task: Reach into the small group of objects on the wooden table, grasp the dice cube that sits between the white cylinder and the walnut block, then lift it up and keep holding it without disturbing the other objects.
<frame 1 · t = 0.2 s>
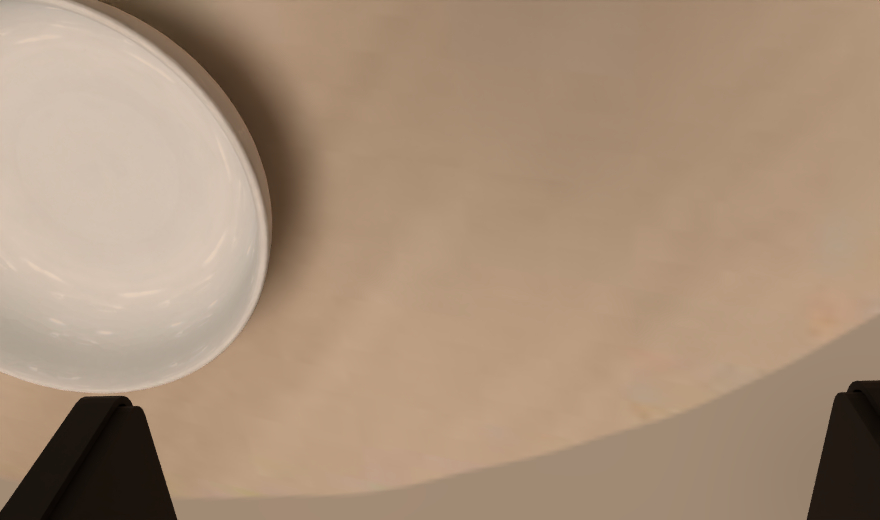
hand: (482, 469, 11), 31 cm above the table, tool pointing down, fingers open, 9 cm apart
serving bowl: (107, 161, 43), on the table
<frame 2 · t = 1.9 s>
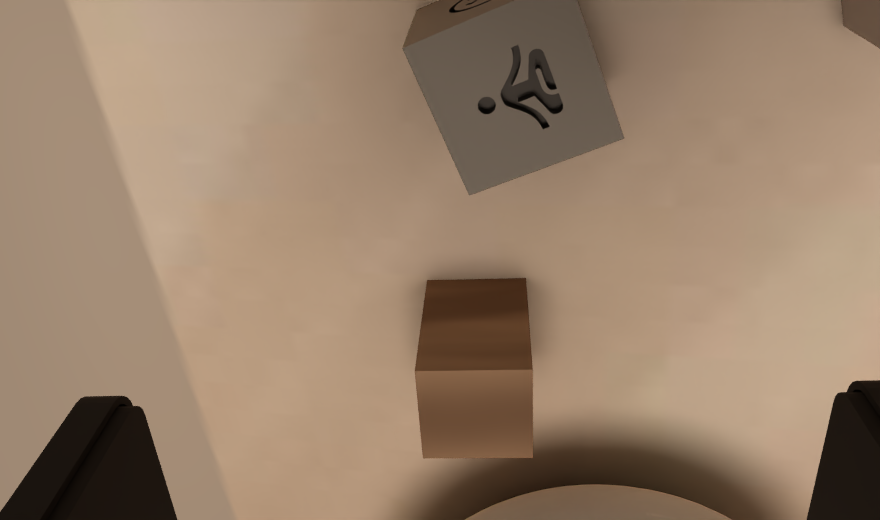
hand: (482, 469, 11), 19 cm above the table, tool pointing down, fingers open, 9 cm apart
dice cube: (511, 47, 28), on the table
walnut block: (478, 319, 33), on the table
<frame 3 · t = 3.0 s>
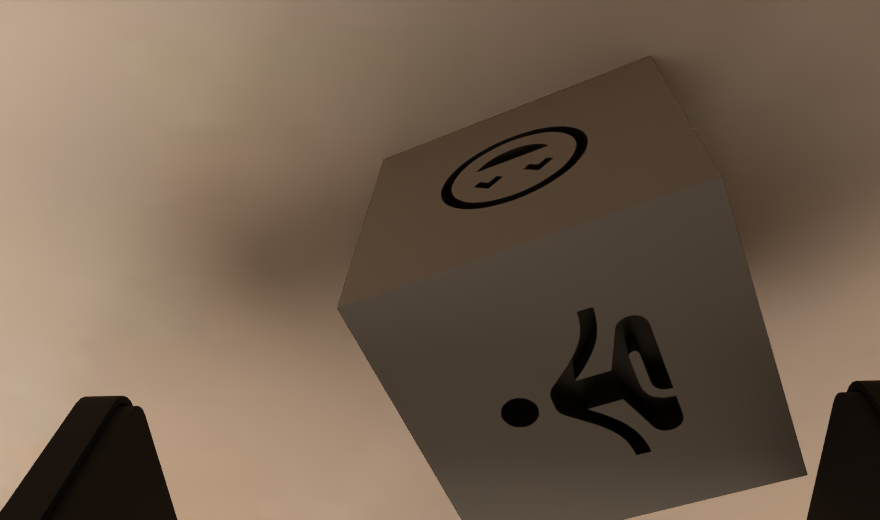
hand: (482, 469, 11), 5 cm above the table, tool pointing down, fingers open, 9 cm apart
dice cube: (557, 220, 15), on the table
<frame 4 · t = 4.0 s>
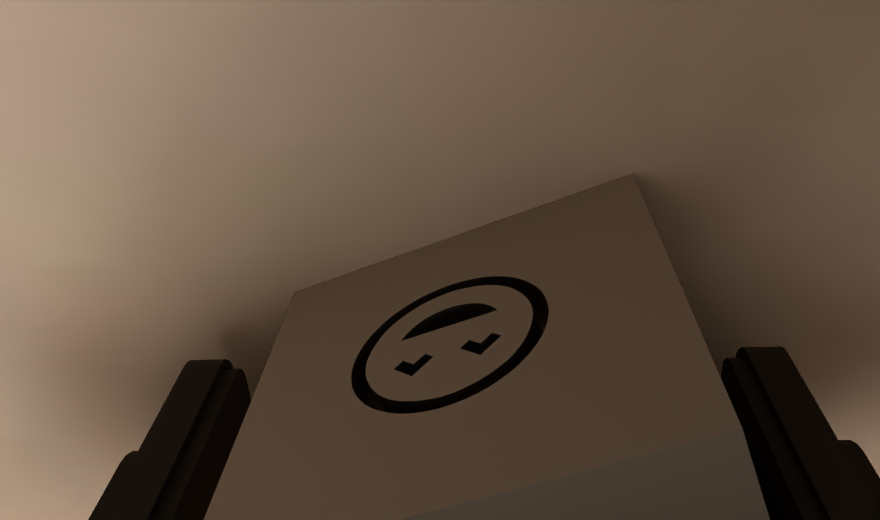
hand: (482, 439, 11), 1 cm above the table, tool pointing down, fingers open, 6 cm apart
dice cube: (517, 363, 12), on the table
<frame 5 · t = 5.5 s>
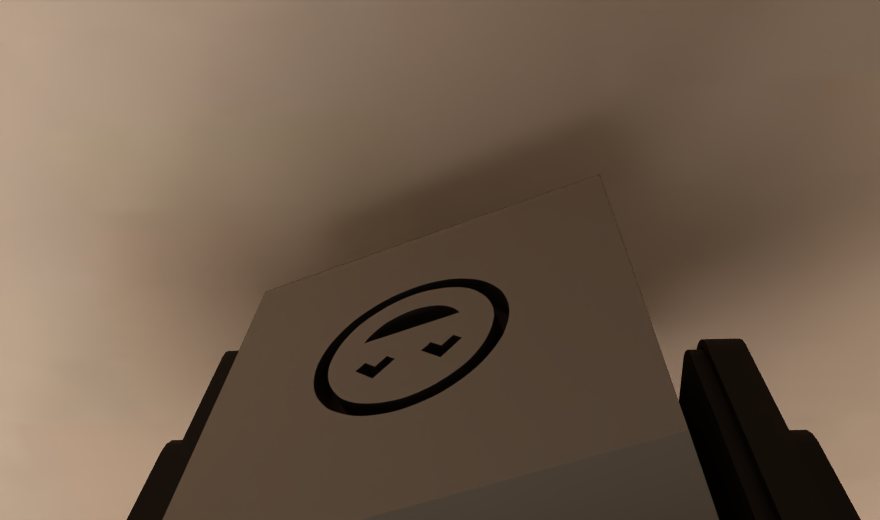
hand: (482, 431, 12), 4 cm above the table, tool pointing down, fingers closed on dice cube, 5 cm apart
dice cube: (488, 364, 12), point 3 cm above the table, touching gripper
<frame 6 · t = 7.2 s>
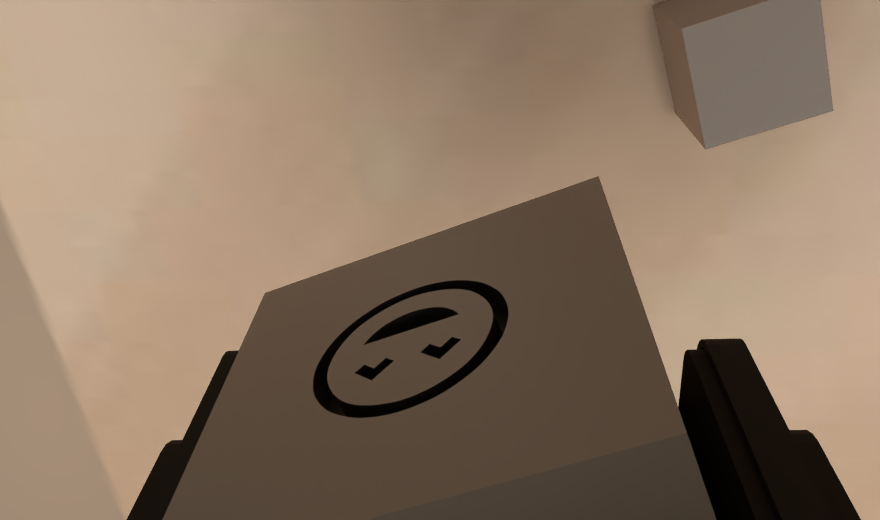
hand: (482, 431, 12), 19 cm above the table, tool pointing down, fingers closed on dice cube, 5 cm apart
slate grey block: (720, 42, 28), on the table
dice cube: (487, 366, 12), point 18 cm above the table, touching gripper
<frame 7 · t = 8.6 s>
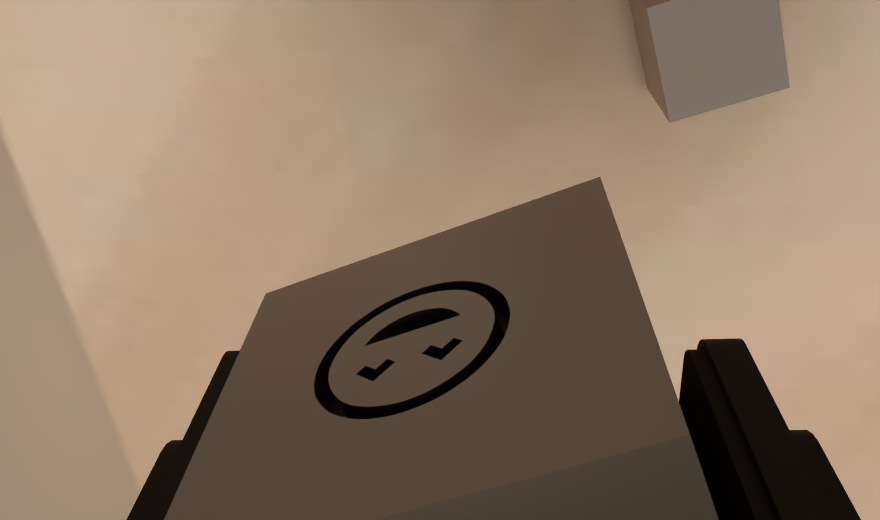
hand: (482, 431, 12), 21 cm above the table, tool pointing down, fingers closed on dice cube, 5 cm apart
slate grey block: (690, 22, 29), on the table
dice cube: (488, 367, 12), point 20 cm above the table, touching gripper
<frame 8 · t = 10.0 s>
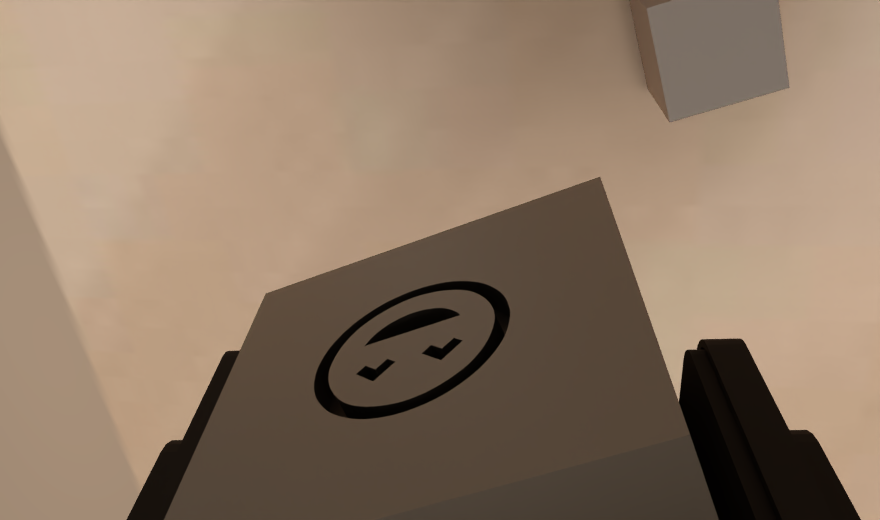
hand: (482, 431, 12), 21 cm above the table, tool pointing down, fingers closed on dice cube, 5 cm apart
slate grey block: (690, 22, 29), on the table
dice cube: (488, 367, 12), point 20 cm above the table, touching gripper
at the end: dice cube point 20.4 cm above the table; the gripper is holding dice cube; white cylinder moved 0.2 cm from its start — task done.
